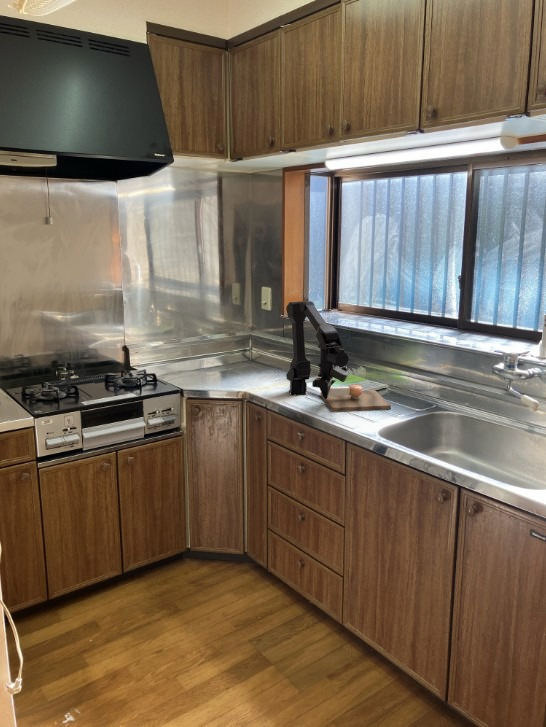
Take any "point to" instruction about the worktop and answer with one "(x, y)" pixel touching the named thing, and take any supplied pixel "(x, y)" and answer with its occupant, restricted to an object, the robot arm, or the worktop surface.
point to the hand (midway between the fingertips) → (325, 398)
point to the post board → (357, 402)
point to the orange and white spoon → (346, 390)
